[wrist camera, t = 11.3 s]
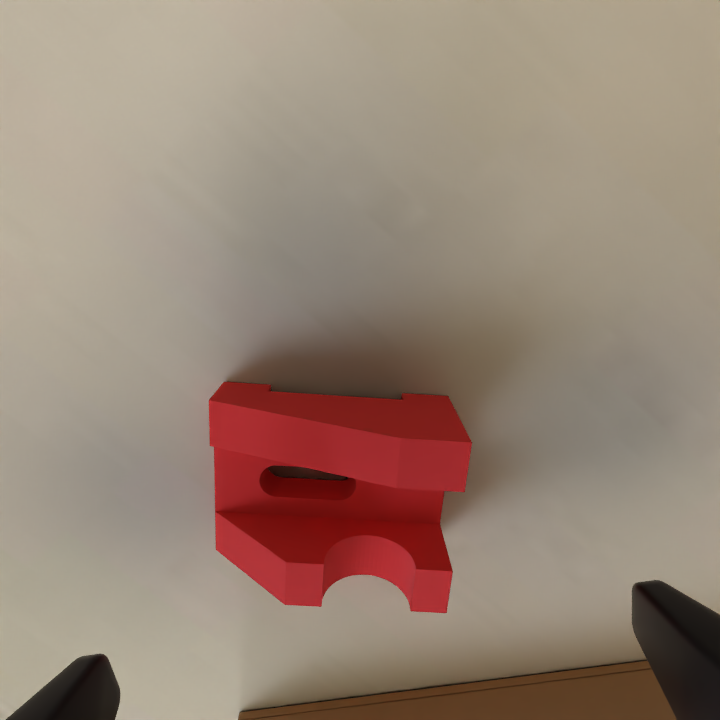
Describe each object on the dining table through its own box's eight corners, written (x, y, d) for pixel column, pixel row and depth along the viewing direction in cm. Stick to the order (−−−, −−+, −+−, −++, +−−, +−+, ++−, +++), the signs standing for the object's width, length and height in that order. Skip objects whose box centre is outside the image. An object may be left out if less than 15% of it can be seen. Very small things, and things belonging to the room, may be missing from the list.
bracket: (447, 396, 14) (472, 442, 11) (429, 538, 15) (446, 613, 12) (224, 381, 14) (188, 425, 11) (225, 526, 15) (194, 599, 12)
